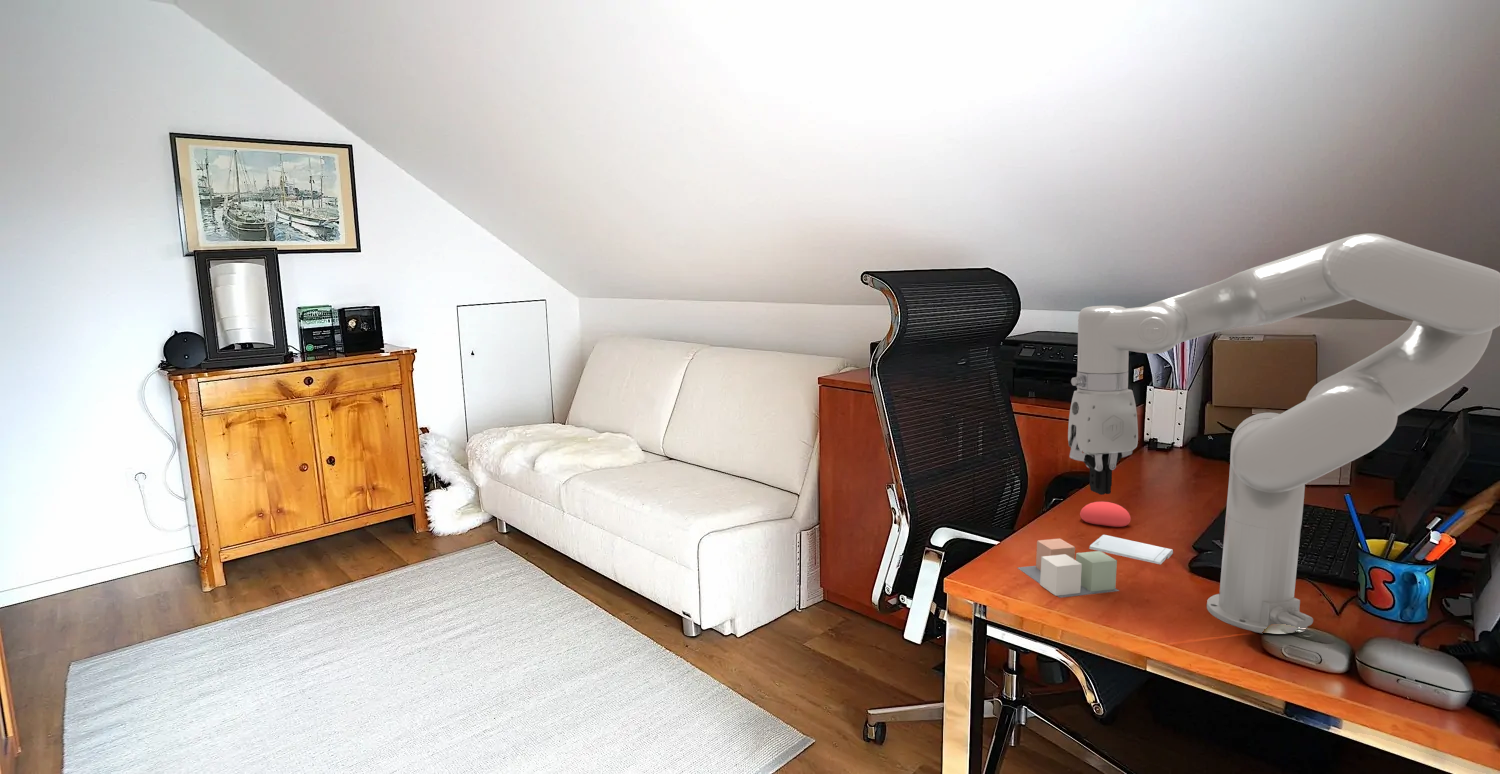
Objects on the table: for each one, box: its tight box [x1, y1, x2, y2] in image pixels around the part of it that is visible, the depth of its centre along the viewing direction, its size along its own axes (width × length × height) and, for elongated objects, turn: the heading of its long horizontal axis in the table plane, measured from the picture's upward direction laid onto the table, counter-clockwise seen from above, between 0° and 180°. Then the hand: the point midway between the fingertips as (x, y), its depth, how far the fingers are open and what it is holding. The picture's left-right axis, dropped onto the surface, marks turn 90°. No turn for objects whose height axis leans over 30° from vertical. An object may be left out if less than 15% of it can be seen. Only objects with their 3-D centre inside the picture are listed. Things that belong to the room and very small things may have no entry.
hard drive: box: [1088, 534, 1174, 565], centre depth 148 cm, size 2×8×12 cm
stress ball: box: [1079, 501, 1132, 528], centre depth 163 cm, size 5×9×6 cm, turn 53°
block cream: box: [1039, 554, 1082, 597], centre depth 131 cm, size 4×4×5 cm
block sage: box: [1075, 550, 1118, 592], centre depth 132 cm, size 4×4×5 cm
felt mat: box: [1017, 565, 1120, 599], centre depth 135 cm, size 13×11×1 cm
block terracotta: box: [1035, 538, 1076, 571], centre depth 138 cm, size 4×4×5 cm
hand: (1100, 492), depth 130 cm, fingers closed
